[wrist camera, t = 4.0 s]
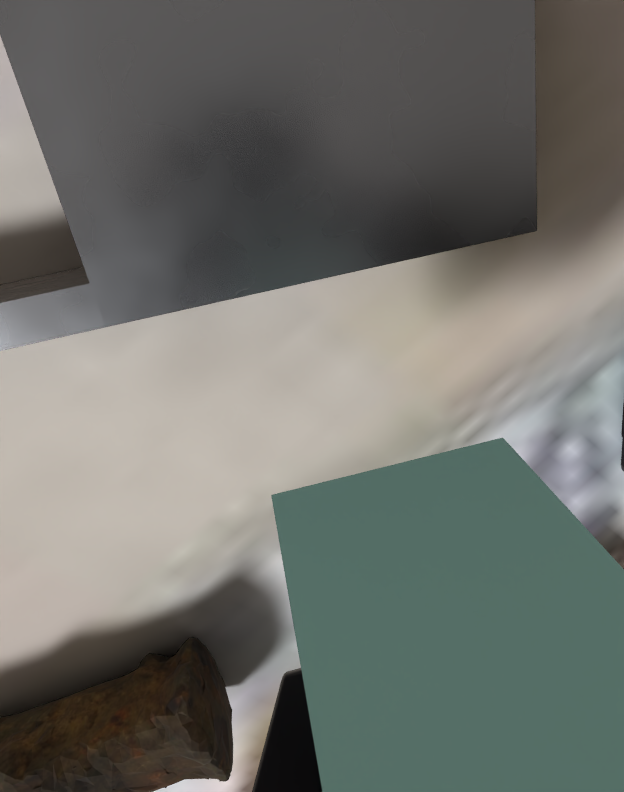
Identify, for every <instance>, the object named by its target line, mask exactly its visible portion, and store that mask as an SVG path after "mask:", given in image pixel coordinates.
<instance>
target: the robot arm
mask: <svg viewBox="0 0 624 792" xmlns="http://www.w3.org/2000/svg"><path fill="white" fill-rule="evenodd" d="M622 437H623V442H622V457H621V467H622V470H623V471H624V405H623V420H622ZM252 792H322V786H321V780H320V775H319V769H318V763H317V757H316V751H315V746H314V740H313V734H312V728H311V722H310V716H309V711H308V705H307V699H306V693H305V687H304V682H303V676H302V670H301V668H299V669H295V670H292V671H288V672H286V673H285V674H284V675H283V678H282V680H281V684H280V688H279V692H278V695H277V699H276V703H275V707H274V711H273V714H272V718H271V722H270V726H269V730H268V733H267V737H266V741H265V745H264V749H263V752H262V756H261V760H260V764H259V768H258V771H257V775H256V779H255V783H254V787H253V790H252Z"/></svg>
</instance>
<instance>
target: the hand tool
mask: <svg viewBox="0 0 624 792" xmlns="http://www.w3.org/2000/svg"><path fill="white" fill-rule="evenodd" d="M231 721H232V709H231V706H230V704H229V700H228V696H227V692H226V688H225V684H224V681H223V679H222V678H221V677H220V674H219V672H218V669H217V666H216V663H215V661H214V659H213V657H212V656H211V654H210V652H209V651H208V650H207V648H206V647H205V646H204V645H203V644H202V643H201V642H200V641H199V640H198V639H196V638H189V639H188V640H187V641H186V642H185V643H184V644H183V645H182V646H181V648H180V649H179V651H178V652H177V654H176V655H174V656H173V657H171V658H170V657H165V656H160V655H157V654H152V653H149V654H148V655H147V656H145V657H144V658H143V659H142V661H141V664H140V666H139V668H138V669H136V670H135V671H133V672H131V673H129V674H127V675H124V676H122V677H120V678H117V679H114V680H110V681H107V682H104V683H101V684H99V685H96V686H93V687H90V688H88V689H85V690H82V691H80V692H77V693H75V694H72V695H69V696H67V697H64V698H61V699H58V700H56V701H53V702H50V703H47V704H44V705H41V706H38V707H36V708H33V709H30V710H27V711H24V712H21V713H18V714H15V715H9V716H5V717H1V718H0V792H152V791H155V790H158V789H161V788H164V787H165V788H166V787H167V786H169V785H172V784H174V783H177V782H179V781H182V780H184V779H204V778H205V779H209V778H211V779H219V780H220V781H227V780H228V779H229V776H230V773H231V771H232V764H233V738H232V723H231Z"/></svg>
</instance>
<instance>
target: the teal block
mask: <svg viewBox="0 0 624 792" xmlns="http://www.w3.org/2000/svg"><path fill="white" fill-rule="evenodd" d="M271 496H272V501H273V507H274V513H275V519H276V525H277V530H278V536H279V542H280V548H281V554H282V560H283V565H284V571H285V577H286V583H287V589H288V594H289V600H290V606H291V612H292V618H293V623H294V629H295V635H296V641H297V647H298V653H299V658H300V664H301V670H302V676H303V682H304V687H305V693H306V699H307V705H308V711H309V716H310V722H311V728H312V734H313V740H314V746H315V751H316V757H317V763H318V769H319V775H320V780H321V786H322V792H624V569H623V568H622V567H621V566H620V565H619V564H618V563H617V562H616V561H615V560H614V558H613V557H612V556H611V555H610V554H609V553H608V552H607V551H606V550H605V549H604V548H603V546H602V545H601V544H600V543H599V542H598V541H597V540H596V539H595V538H594V537H593V536H592V534H591V533H590V532H589V531H588V530H587V529H586V528H585V527H584V526H583V525H582V524H581V522H580V521H579V520H578V519H577V518H576V517H575V516H574V515H573V514H572V513H571V512H570V510H569V509H568V508H567V507H566V506H565V505H564V504H563V503H562V502H561V501H560V500H559V498H558V497H557V496H556V495H555V494H554V493H553V492H552V491H551V490H550V489H549V488H548V486H547V485H546V484H545V483H544V482H543V481H542V480H541V479H540V478H539V477H538V476H537V474H536V473H535V472H534V471H533V470H532V469H531V468H530V467H529V466H528V465H527V464H526V462H525V461H524V460H523V459H522V458H521V457H520V456H519V455H518V454H517V453H516V452H515V450H514V449H513V448H512V447H511V446H510V445H509V444H508V443H507V442H506V441H505V440H504V438H500V439H496V440H492V441H488V442H484V443H480V444H476V445H472V446H467V447H463V448H459V449H455V450H451V451H447V452H443V453H439V454H435V455H431V456H427V457H423V458H419V459H415V460H411V461H407V462H403V463H399V464H395V465H391V466H387V467H383V468H379V469H375V470H371V471H367V472H363V473H359V474H355V475H351V476H347V477H343V478H338V479H334V480H330V481H326V482H322V483H318V484H314V485H310V486H306V487H302V488H298V489H294V490H290V491H286V492H282V493H278V494H274V495H271Z"/></svg>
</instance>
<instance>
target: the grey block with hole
mask: <svg viewBox="0 0 624 792" xmlns="http://www.w3.org/2000/svg"><path fill="white" fill-rule="evenodd" d="M0 35H1V38H2V41H3V44H4V47H5V49H6V52H7V55H8V58H9V60H10V63H11V66H12V69H13V72H14V74H15V77H16V80H17V83H18V85H19V88H20V91H21V94H22V97H23V99H24V102H25V105H26V108H27V110H28V113H29V116H30V119H31V121H32V124H33V127H34V130H35V133H36V135H37V138H38V141H39V144H40V146H41V149H42V152H43V155H44V158H45V160H46V163H47V166H48V169H49V171H50V174H51V177H52V180H53V183H54V185H55V188H56V191H57V194H58V196H59V199H60V202H61V205H62V207H63V210H64V213H65V216H66V219H67V221H68V224H69V227H70V230H71V232H72V235H73V238H74V241H75V244H76V246H77V249H78V252H79V255H80V257H81V260H82V263H83V266H84V267H81V268H77V269H72V270H67V271H63V272H58V273H54V274H49V275H44V276H40V277H35V278H31V279H26V280H21V281H17V282H12V283H8V284H3V285H0V351H1V350H6V349H10V348H14V347H19V346H23V345H28V344H32V343H37V342H41V341H46V340H50V339H55V338H59V337H64V336H68V335H73V334H77V333H82V332H86V331H91V330H95V329H100V328H104V327H108V326H113V325H117V324H122V323H126V322H131V321H135V320H140V319H144V318H149V317H153V316H158V315H162V314H167V313H171V312H176V311H180V310H185V309H189V308H194V307H198V306H202V305H207V304H211V303H216V302H220V301H225V300H229V299H234V298H238V297H243V296H247V295H252V294H256V293H261V292H265V291H270V290H274V289H279V288H283V287H288V286H292V285H297V284H301V283H305V282H310V281H314V280H319V279H323V278H328V277H332V276H337V275H341V274H346V273H350V272H355V271H359V270H364V269H368V268H373V267H377V266H382V265H386V264H391V263H395V262H399V261H404V260H408V259H413V258H417V257H422V256H426V255H431V254H435V253H440V252H444V251H449V250H453V249H458V248H462V247H467V246H471V245H476V244H480V243H485V242H489V241H493V240H498V239H502V238H507V237H511V236H516V235H520V234H525V233H529V232H534V231H537V187H536V75H535V0H0Z"/></svg>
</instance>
